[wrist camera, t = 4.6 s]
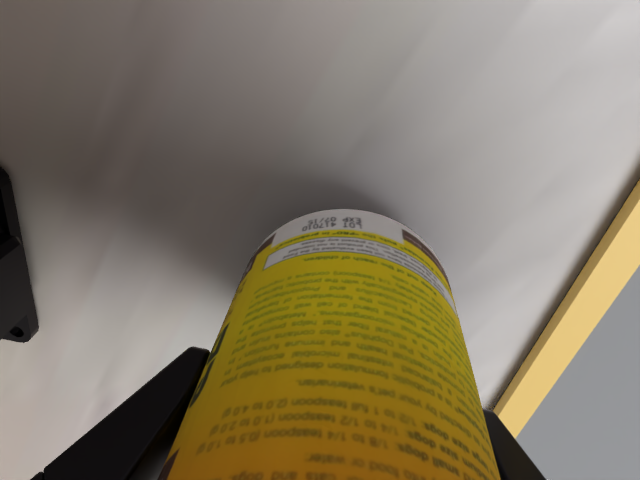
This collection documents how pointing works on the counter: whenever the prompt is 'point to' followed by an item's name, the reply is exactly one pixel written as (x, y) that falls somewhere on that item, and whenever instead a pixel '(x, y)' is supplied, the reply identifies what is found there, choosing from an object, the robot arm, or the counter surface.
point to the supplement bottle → (337, 365)
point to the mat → (587, 369)
